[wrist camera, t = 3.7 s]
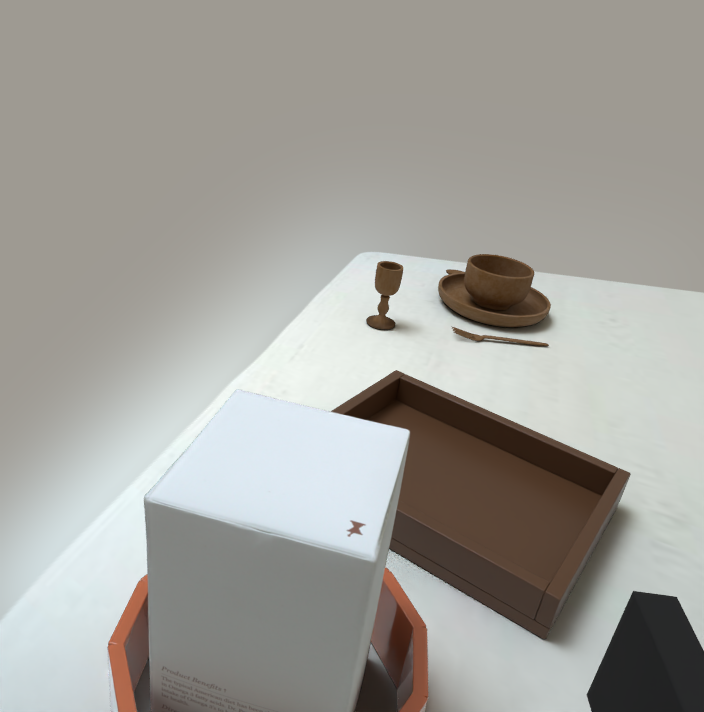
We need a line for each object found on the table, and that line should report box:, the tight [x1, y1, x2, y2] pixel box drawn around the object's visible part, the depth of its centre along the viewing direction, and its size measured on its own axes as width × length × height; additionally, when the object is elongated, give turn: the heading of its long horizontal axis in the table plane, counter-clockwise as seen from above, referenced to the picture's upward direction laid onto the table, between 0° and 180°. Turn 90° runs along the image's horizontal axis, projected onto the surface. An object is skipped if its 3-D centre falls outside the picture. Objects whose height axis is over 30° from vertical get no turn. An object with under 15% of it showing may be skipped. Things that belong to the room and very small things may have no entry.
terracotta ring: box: [107, 568, 428, 712], centre depth 27 cm, size 12×12×4 cm
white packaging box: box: [144, 389, 410, 712], centre depth 25 cm, size 7×7×13 cm
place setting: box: [366, 254, 551, 346], centre depth 69 cm, size 18×20×6 cm
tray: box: [331, 370, 631, 640], centre depth 41 cm, size 18×14×3 cm
